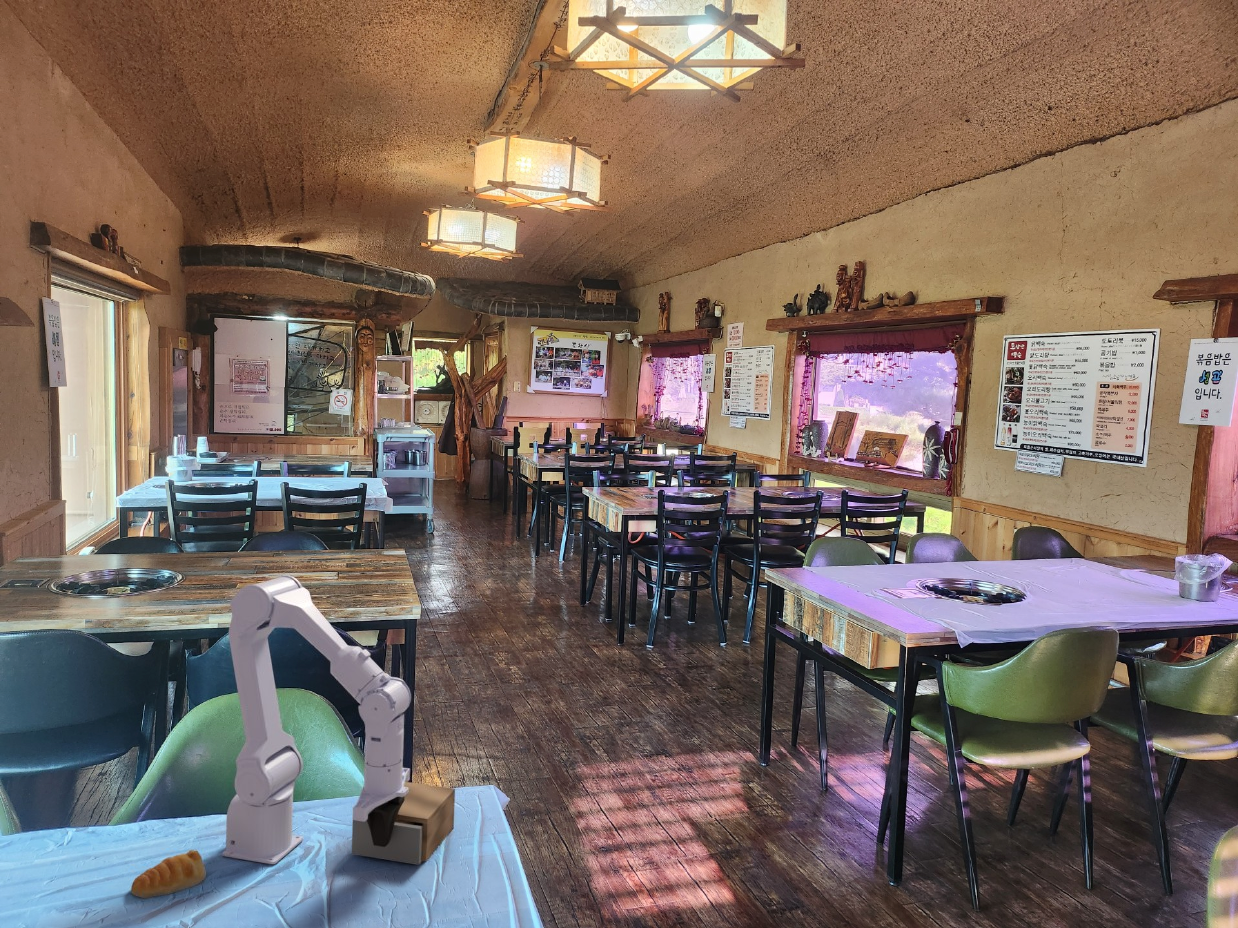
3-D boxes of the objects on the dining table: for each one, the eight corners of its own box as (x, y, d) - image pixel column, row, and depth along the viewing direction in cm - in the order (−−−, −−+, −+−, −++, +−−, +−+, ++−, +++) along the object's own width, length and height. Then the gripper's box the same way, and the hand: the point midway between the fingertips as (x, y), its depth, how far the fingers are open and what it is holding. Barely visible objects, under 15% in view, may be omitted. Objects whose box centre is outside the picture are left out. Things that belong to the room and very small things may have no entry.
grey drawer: (418, 864, 124) (420, 828, 124) (351, 853, 126) (352, 818, 126) (446, 831, 135) (447, 798, 134) (383, 821, 137) (384, 789, 137)
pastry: (139, 908, 112) (139, 882, 112) (124, 888, 116) (124, 863, 116) (209, 882, 119) (209, 857, 119) (192, 864, 123) (193, 840, 123)
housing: (426, 861, 126) (427, 818, 126) (357, 850, 129) (359, 808, 128) (453, 827, 137) (454, 788, 137) (390, 818, 140) (391, 779, 139)
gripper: (384, 782, 115) (381, 872, 116) (427, 744, 130) (425, 825, 130) (340, 776, 117) (338, 865, 117) (388, 739, 131) (385, 819, 132)
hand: (381, 843), depth 124 cm, fingers closed
